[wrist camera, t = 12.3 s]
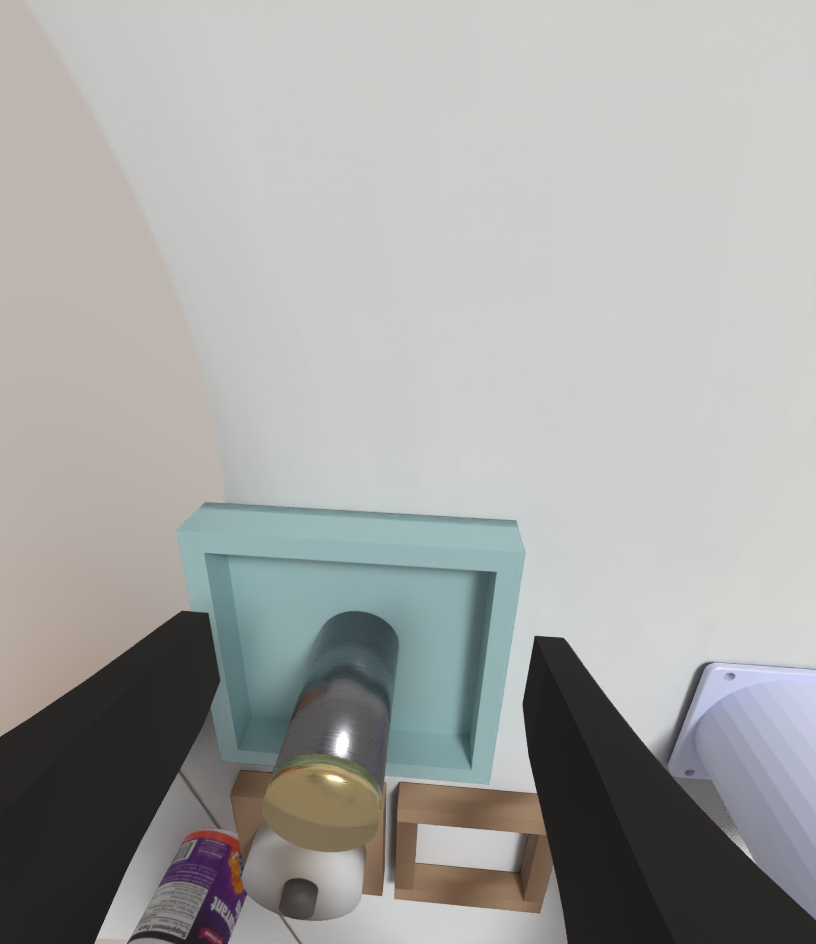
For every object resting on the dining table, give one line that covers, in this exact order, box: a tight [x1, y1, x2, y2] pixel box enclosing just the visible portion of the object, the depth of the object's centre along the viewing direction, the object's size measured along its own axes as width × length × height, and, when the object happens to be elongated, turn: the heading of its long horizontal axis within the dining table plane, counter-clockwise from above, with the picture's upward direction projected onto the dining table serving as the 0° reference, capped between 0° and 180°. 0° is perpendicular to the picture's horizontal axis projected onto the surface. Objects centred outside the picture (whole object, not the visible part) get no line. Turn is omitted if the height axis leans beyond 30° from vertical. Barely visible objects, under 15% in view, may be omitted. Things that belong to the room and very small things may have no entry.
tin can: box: [262, 611, 399, 852], centre depth 19 cm, size 4×4×8 cm
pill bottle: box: [127, 828, 247, 944], centre depth 28 cm, size 5×5×10 cm
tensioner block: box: [230, 770, 553, 921], centre depth 28 cm, size 19×9×4 cm, turn 88°
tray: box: [176, 502, 525, 785], centre depth 22 cm, size 14×14×2 cm
